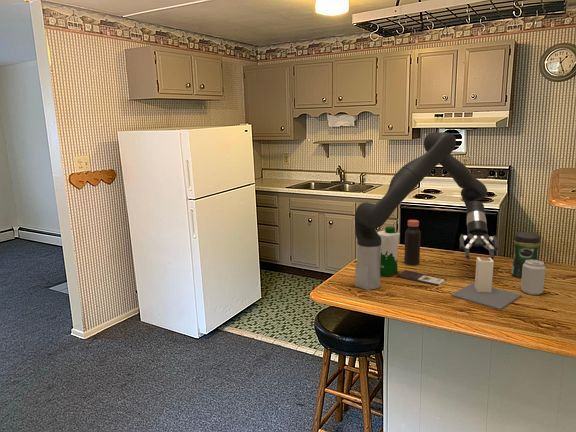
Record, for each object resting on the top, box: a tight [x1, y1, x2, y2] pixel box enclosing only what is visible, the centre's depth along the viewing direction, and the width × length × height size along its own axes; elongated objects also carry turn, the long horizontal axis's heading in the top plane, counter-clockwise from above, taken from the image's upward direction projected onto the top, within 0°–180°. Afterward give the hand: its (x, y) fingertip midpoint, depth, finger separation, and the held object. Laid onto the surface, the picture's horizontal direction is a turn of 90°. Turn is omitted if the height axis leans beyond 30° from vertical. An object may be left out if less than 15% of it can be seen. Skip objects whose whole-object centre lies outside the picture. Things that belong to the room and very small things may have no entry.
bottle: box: [403, 219, 422, 266], centre depth 200 cm, size 7×7×20 cm
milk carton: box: [377, 226, 401, 278], centre depth 187 cm, size 9×9×20 cm
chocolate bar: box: [395, 270, 447, 287], centre depth 182 cm, size 9×1×18 cm
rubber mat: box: [450, 282, 522, 311], centre depth 162 cm, size 18×18×1 cm
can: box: [520, 259, 546, 296], centre depth 164 cm, size 8×8×12 cm
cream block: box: [474, 256, 495, 292], centre depth 165 cm, size 5×5×12 cm
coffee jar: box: [511, 231, 541, 279], centre depth 181 cm, size 10×8×19 cm
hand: (479, 258), depth 174 cm, fingers open, 8 cm apart
